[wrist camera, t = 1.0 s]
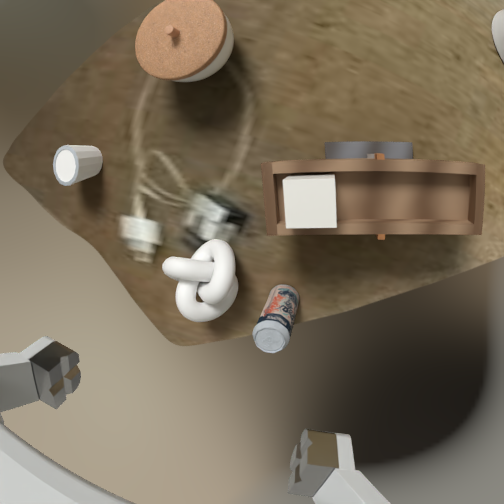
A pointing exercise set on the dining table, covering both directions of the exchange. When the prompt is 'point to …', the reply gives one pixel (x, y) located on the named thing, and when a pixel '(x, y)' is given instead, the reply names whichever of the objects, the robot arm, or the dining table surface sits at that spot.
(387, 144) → the brown wooden tray
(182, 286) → the white knot sculpture
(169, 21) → the lidded bowl
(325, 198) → the white block
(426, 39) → the dining table surface
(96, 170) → the shot glass
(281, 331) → the beer can
